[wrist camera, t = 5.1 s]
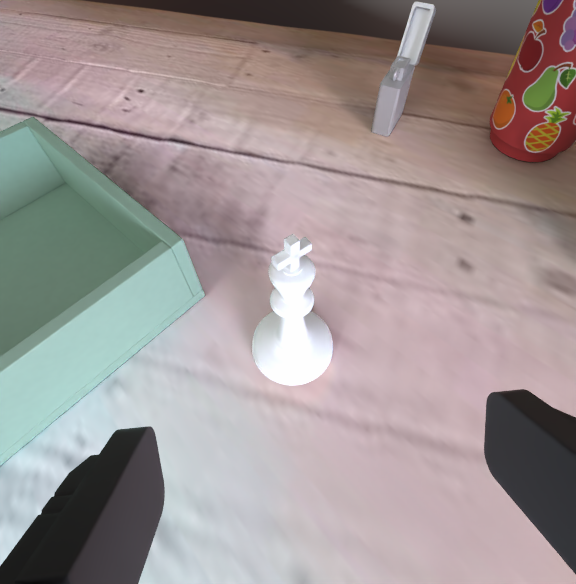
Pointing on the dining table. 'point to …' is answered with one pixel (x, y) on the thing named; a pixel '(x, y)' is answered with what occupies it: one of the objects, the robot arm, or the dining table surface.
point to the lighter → (402, 70)
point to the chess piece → (292, 321)
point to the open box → (74, 280)
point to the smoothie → (540, 88)
